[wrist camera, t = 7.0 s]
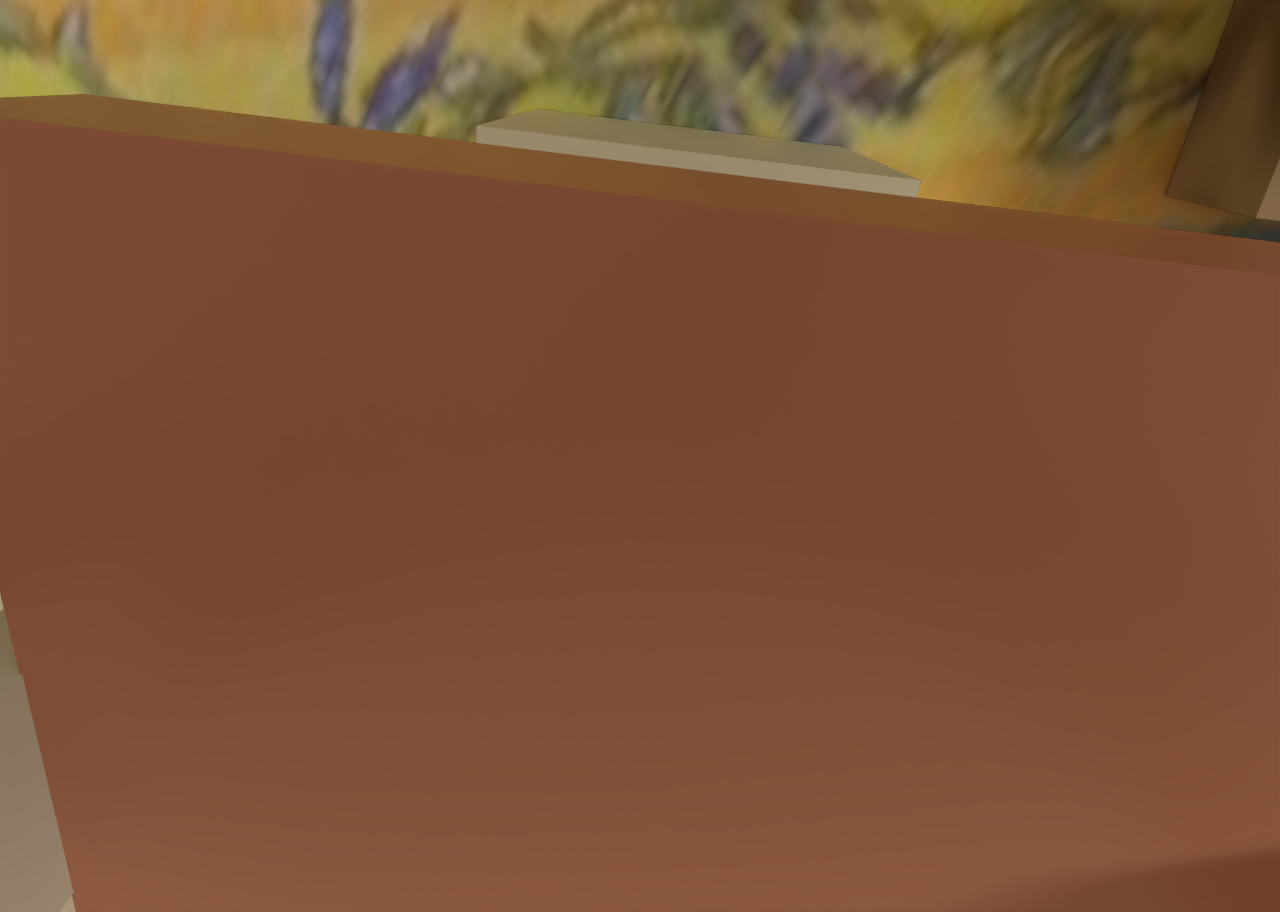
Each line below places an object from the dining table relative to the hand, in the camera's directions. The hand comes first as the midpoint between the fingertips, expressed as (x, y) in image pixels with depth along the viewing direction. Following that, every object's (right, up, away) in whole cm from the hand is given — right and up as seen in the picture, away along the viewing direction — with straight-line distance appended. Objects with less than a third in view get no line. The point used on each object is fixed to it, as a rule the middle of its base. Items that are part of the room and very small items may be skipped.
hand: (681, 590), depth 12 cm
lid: (0, -1, -1) cm, 2 cm away
